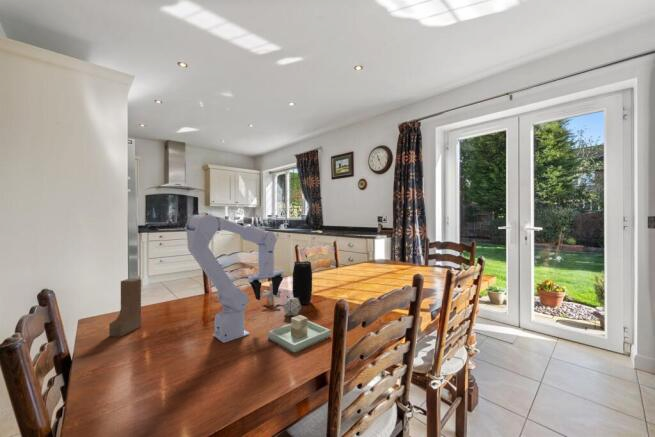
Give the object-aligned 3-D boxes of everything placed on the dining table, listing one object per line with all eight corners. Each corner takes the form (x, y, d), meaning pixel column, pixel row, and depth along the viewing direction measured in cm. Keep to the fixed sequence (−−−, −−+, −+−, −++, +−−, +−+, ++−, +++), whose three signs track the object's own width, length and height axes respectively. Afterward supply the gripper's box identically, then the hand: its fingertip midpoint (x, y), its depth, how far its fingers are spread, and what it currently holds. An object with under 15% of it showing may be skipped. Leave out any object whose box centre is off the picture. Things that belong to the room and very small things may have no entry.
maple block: (298, 339, 93) (298, 321, 93) (290, 335, 95) (291, 317, 95) (307, 335, 95) (307, 317, 95) (299, 331, 98) (300, 314, 98)
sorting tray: (294, 353, 85) (294, 345, 85) (268, 338, 94) (268, 331, 94) (330, 337, 96) (330, 329, 96) (304, 325, 106) (304, 318, 106)
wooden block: (120, 337, 94) (120, 284, 94) (108, 336, 95) (108, 284, 94) (141, 326, 103) (141, 278, 103) (130, 326, 104) (130, 278, 103)
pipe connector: (270, 309, 123) (270, 287, 123) (255, 305, 129) (256, 283, 129) (286, 304, 131) (286, 282, 131) (272, 299, 137) (272, 279, 137)
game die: (295, 323, 117) (309, 302, 120) (291, 323, 109) (306, 301, 112) (279, 310, 120) (292, 291, 122) (273, 310, 112) (288, 288, 114)
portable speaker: (289, 302, 133) (289, 261, 133) (305, 298, 139) (306, 259, 139) (298, 307, 126) (298, 264, 126) (315, 303, 132) (315, 262, 132)
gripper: (254, 266, 99) (255, 303, 100) (287, 260, 109) (288, 295, 110) (245, 263, 104) (245, 299, 105) (277, 258, 114) (277, 291, 115)
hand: (266, 296), depth 108 cm, fingers open, 7 cm apart
